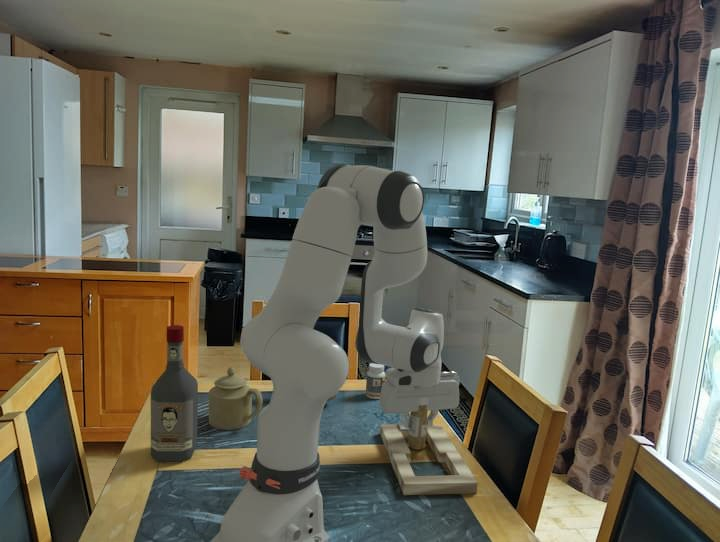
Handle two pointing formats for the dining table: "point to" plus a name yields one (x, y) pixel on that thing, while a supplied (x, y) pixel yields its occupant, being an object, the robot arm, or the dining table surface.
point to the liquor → (174, 405)
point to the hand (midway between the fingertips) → (417, 426)
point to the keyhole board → (443, 451)
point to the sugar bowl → (232, 402)
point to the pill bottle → (375, 380)
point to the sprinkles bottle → (418, 425)
